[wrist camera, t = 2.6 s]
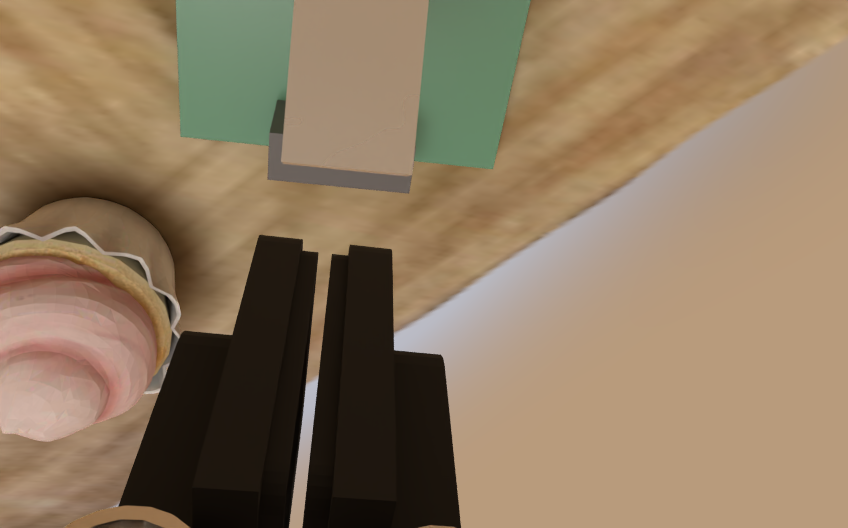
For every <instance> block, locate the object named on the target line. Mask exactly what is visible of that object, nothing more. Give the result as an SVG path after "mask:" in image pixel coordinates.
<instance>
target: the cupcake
mask: <svg viewBox="0 0 848 528" xmlns="http://www.w3.org/2000/svg"><path fill="white" fill-rule="evenodd" d="M180 317H181V311H180V306H179V303H178V300H177V297H176V295H175V270H174V262H173V259H172V255H171V253H170V250H169V248H168V246H167V244H166V243H165V241H164V239H163V238H162V236H161V235H160V233H159V232H158V230H157V229H156V228H155V227H154V226H153V225H152V224H150V223H149V222H148V221H147V220H146V219H145V218H143V217H142V216H140V215H139V214H137V213H136V212H134V211H133V210H131V209H129V208H128V207H126V206H123V205H120V204H117V203H114V202H111V201H107V200H103V199H97V198H90V197H82V198H71V199H64V200H60V201H56V202H53V203H50V204H47V205H44V206H43V207H41V208H40V209H38V210H37V211H35V212H34V213H32V214H31V215H29V216H28V217H27V218H25V219H24V220H22V221H21V222H20V223H16V224H11V225H7V226H4V227H2V228H0V428H1V429H2V432H3V433H7V434H9V433H15V434H18V435H21V436H24V437H27V438H31V439H34V440H38V441H53V440H56V439H60V438H64V437H66V436H69V435H71V434H73V433H75V432H77V431H80V430H82V429H85V428H87V427H88V426H90V425H92V424H96V423H99V422H102V421H105V420H107V419H110V418H113V417H115V416H118V415H121V414H122V413H124V412H126V411H127V410H129V409H130V408H131V407H132V406H134V405H135V404H136V403H137V402H138V400H139V399H140V398H141V396H142V395H143V394H154V393H158V392H160V389H161V386H162V384H163V381H164V378H165V375H166V368H167V367H169V364H170V361H171V358H172V356H173V353H174V350H175V347H176V344H177V342H178V340H179V337H180V335H181V334H182V332H181V329H180V326H179V323H178V321H179V319H180Z"/></svg>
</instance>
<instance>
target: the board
mask: <svg viewBox="0 0 848 528" xmlns="http://www.w3.org/2000/svg"><path fill="white" fill-rule="evenodd" d="M530 1H531V0H429V4H428V14H427V25H426V36H425V46H424V57H423V67H422V78H421V88H420V99H419V110H418V120H417V131H416V141H415V152H414V161H419V162H429V163H438V164H448V165H457V166H467V167H477V168H486V169H493V167H494V163H495V158H496V154H497V149H498V145H499V140H500V136H501V131H502V127H503V122H504V118H505V113H506V109H507V104H508V100H509V95H510V91H511V86H512V82H513V77H514V73H515V68H516V64H517V59H518V55H519V50H520V46H521V41H522V37H523V32H524V28H525V23H526V19H527V14H528V10H529V5H530ZM293 8H294V0H176V20H177V47H178V75H179V103H180V131H181V137H189V138H199V139H208V140H218V141H227V142H237V143H247V144H256V145H266V146H269V156H268V180H277V181H287V182H297V183H308V184H318V185H328V186H338V187H348V188H358V189H369V190H379V191H389V192H399V193H409V191H410V184H411V178H412V175H411V176H397V175H388V174H378V173H368V172H358V171H348V170H338V169H328V168H319V167H309V166H299V165H289V164H283V163H282V162H281V155H282V143H283V131H284V119H285V106H286V94H287V82H288V69H289V57H290V45H291V33H292V20H293ZM413 165H414V163H413Z"/></svg>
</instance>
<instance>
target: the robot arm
mask: <svg viewBox="0 0 848 528" xmlns="http://www.w3.org/2000/svg"><path fill="white" fill-rule="evenodd" d="M302 249H303V240H302V239H293V238H284V237H275V236H266V235H259V238H258V241H257V245H256V248H255V252H254V256H253V260H252V263H251V267H250V271H249V275H248V278H247V282H246V286H245V290H244V294H243V297H242V301H241V305H240V309H239V312H238V316H237V320H236V324H235V327H234V331H233V335H223V334H212V333H202V332H191V331H184V332H183V333H182V334H181V335H180V337H179V340H178V342H177V344H176V347H175V350H174V353H173V356H172V358H171V361H170V364H169V367H168V370H167V372H166V375H165V378H164V381H163V384H162V386H161V389H160V392H159V395H158V398H157V400H156V403H155V406H154V409H153V411H152V414H151V417H150V420H149V423H148V425H147V428H146V431H145V434H144V437H143V439H142V442H141V445H140V448H139V451H138V453H137V456H136V459H135V462H134V465H133V467H132V470H131V473H130V476H129V479H128V481H127V484H126V487H125V490H124V493H123V495H122V498H121V501H120V504H119V506H118V507H114V508H108V509H103V510H98V511H96V512H94V513H91V514H89V515H86V516H84V517H82V518H79V519H77V520H75V521H73V522H71V523H70V524H68V525H67V526H66V527H64V528H289V522H290V514H291V506H292V498H293V490H294V482H295V474H296V466H297V458H298V450H299V442H300V433H301V425H302V416H303V407H304V397H305V387H306V376H307V366H308V356H309V345H310V335H311V325H312V315H313V304H314V294H315V284H316V273H317V263H318V252H308V251H302ZM457 494H458V493H457V483H456V474H455V465H454V454H453V444H452V434H451V424H450V414H449V404H448V396H447V385H446V376H445V366H444V360H443V357H442V356H441V355H437V354H427V353H415V352H405V351H394V328H393V271H392V250H391V249H384V248H375V247H366V246H357V245H350V247H349V254H348V256H345V255H336V254H332V259H331V268H330V278H329V287H328V296H327V305H326V314H325V324H324V333H323V342H322V351H321V360H320V370H319V379H318V388H317V397H316V406H315V416H314V425H313V435H312V444H311V453H310V463H309V472H308V481H307V491H306V500H305V510H304V519H303V528H461V524H460V514H459V504H458V495H457Z"/></svg>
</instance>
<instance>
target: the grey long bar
mask: <svg viewBox="0 0 848 528" xmlns="http://www.w3.org/2000/svg"><path fill="white" fill-rule="evenodd" d="M428 4H429V0H294V8H293V20H292V33H291V45H290V57H289V69H288V82H287V94H286V106H285V119H284V131H283V143H282V155H281V162H282V163H283V164H289V165H299V166H309V167H319V168H328V169H338V170H348V171H358V172H368V173H378V174H388V175H397V176H411V175H412V173H413V163H414V152H415V141H416V131H417V120H418V110H419V99H420V88H421V78H422V67H423V57H424V46H425V36H426V25H427V14H428Z"/></svg>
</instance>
